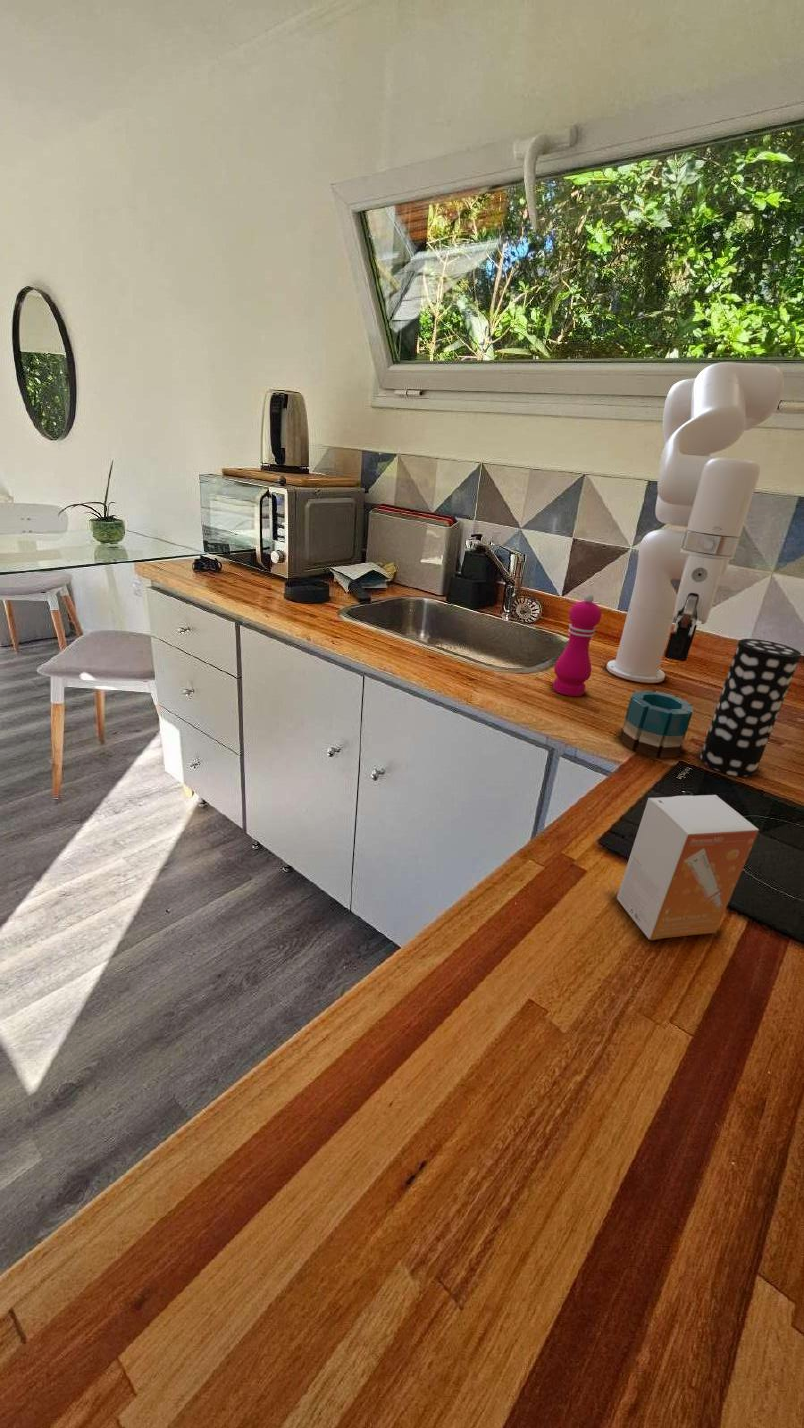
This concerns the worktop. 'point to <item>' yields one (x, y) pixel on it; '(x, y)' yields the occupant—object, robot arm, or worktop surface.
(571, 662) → the pepper mill
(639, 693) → the teal ring
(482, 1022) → the worktop surface
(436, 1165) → the worktop surface
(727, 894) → the small box
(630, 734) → the ring stack
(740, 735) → the spotted tube
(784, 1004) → the worktop surface
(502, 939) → the worktop surface
